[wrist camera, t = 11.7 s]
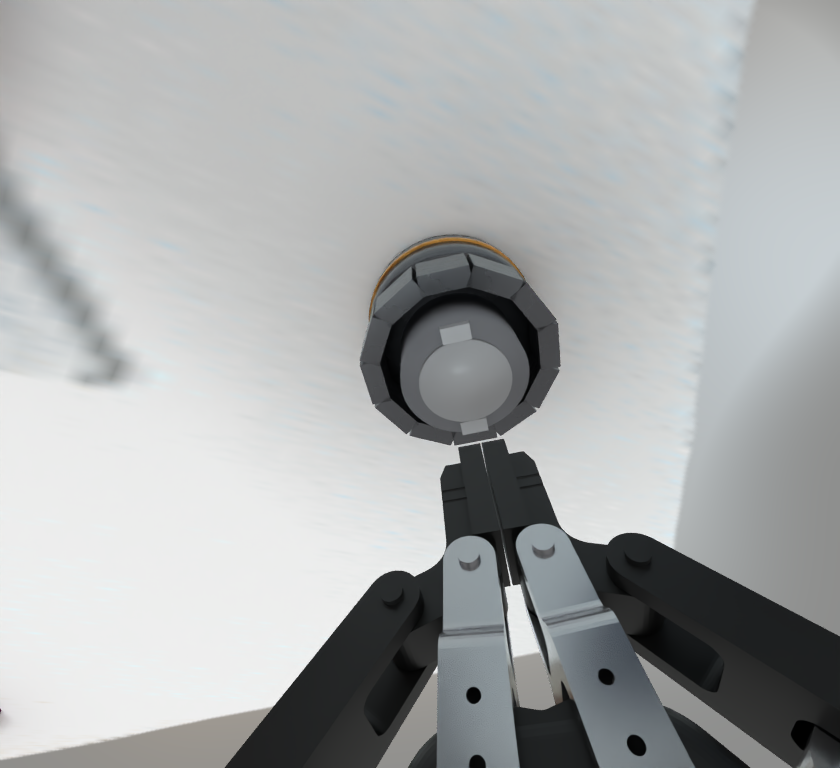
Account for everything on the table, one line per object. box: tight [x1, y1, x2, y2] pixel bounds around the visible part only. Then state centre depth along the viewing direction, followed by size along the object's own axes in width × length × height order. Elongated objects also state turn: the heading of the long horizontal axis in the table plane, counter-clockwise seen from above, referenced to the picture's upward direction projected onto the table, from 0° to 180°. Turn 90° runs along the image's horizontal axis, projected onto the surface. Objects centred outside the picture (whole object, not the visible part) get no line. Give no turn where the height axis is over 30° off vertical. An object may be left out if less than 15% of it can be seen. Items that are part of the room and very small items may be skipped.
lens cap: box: [400, 293, 529, 435], centre depth 20 cm, size 6×6×4 cm
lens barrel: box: [360, 235, 560, 445], centre depth 23 cm, size 9×9×6 cm
